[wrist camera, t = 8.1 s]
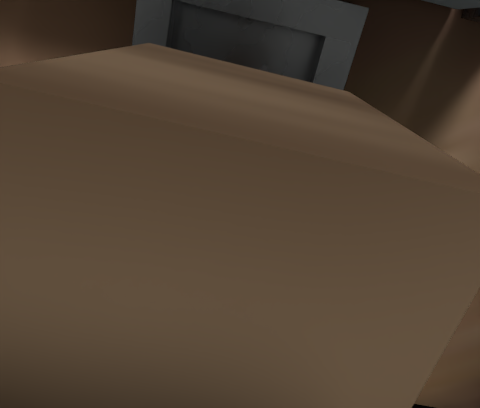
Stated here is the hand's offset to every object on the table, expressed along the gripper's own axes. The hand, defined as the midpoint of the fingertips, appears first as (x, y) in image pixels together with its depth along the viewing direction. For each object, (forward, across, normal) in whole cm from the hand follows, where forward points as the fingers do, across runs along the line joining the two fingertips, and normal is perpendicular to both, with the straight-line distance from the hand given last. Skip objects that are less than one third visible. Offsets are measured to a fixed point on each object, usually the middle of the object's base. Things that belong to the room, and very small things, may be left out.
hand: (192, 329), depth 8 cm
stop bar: (+1, 0, 0) cm, 1 cm away
